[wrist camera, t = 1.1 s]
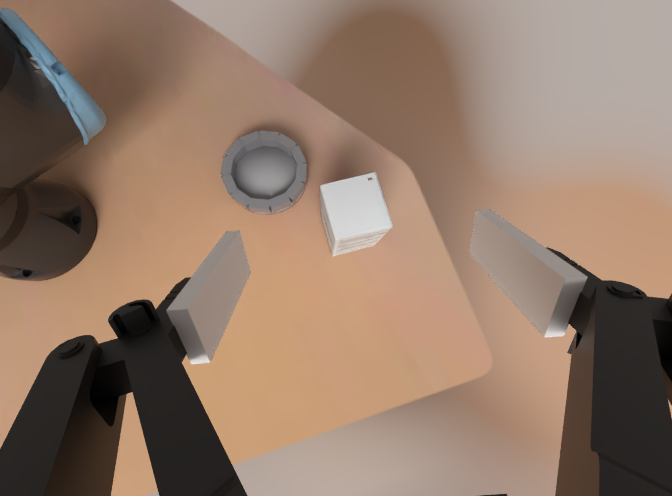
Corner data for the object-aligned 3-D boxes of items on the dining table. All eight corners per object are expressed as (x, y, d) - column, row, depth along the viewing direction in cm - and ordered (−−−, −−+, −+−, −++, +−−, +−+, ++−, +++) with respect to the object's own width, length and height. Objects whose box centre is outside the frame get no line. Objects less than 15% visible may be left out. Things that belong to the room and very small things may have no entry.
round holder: (211, 185, 46) (204, 177, 43) (260, 127, 49) (256, 116, 46) (275, 229, 45) (272, 224, 42) (322, 168, 48) (322, 160, 45)
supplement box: (319, 215, 46) (318, 182, 34) (363, 204, 47) (377, 169, 35) (331, 258, 45) (333, 241, 33) (375, 247, 46) (395, 226, 33)
